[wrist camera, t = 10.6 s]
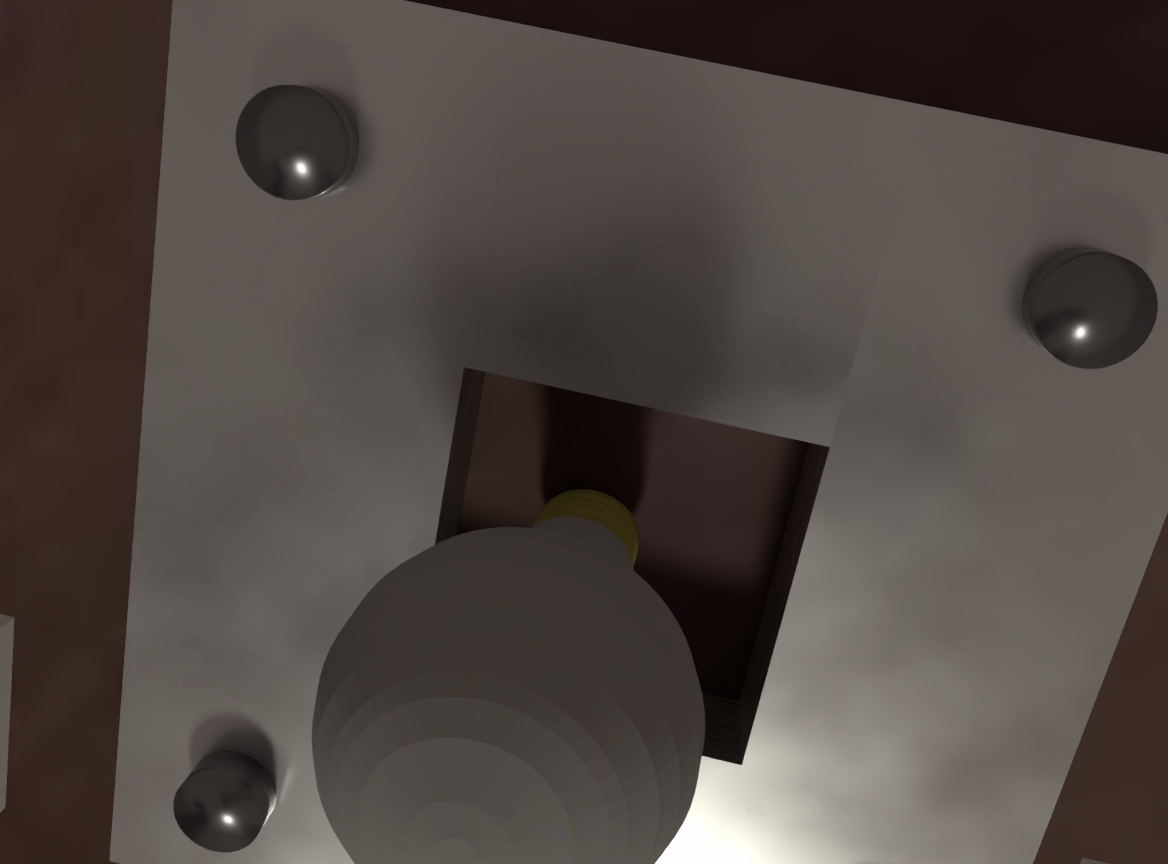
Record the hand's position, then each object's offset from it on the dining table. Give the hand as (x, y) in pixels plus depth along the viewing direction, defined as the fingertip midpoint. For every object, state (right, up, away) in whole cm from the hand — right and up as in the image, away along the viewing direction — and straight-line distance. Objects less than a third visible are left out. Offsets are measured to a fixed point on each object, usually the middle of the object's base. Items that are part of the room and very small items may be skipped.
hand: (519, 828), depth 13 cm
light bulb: (+1, +3, +9) cm, 10 cm away
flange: (+1, +3, +9) cm, 10 cm away
